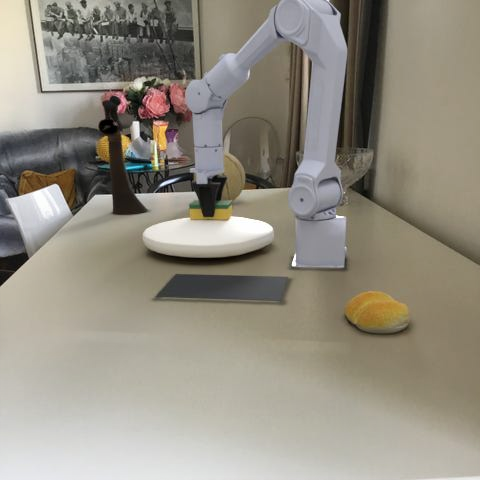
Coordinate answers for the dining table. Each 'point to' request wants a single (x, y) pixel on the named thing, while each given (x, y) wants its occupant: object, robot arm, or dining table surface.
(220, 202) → the sponge
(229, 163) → the cantaloupe
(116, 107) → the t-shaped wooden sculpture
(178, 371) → the dining table surface
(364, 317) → the bread roll
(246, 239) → the plate
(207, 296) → the sponge mat
